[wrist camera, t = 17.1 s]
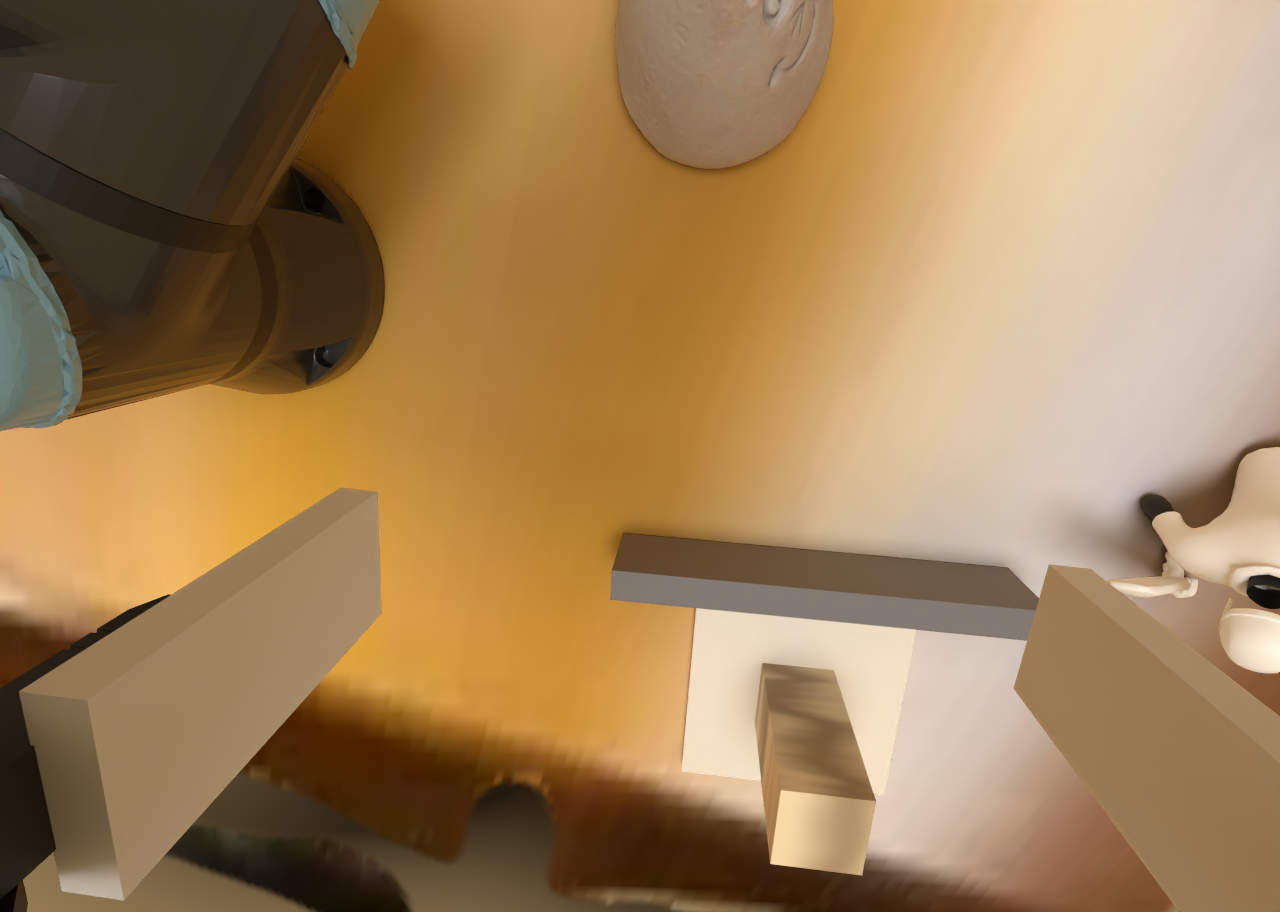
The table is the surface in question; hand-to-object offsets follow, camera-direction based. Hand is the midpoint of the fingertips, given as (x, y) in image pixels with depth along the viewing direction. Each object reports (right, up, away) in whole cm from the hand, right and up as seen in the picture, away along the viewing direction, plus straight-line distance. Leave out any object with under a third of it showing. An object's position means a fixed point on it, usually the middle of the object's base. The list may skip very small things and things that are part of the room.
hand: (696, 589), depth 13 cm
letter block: (+10, -15, +34) cm, 39 cm away
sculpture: (+3, +26, +25) cm, 36 cm away
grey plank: (+11, -5, +33) cm, 35 cm away
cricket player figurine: (+34, -2, +30) cm, 45 cm away
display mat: (+10, -14, +35) cm, 39 cm away
